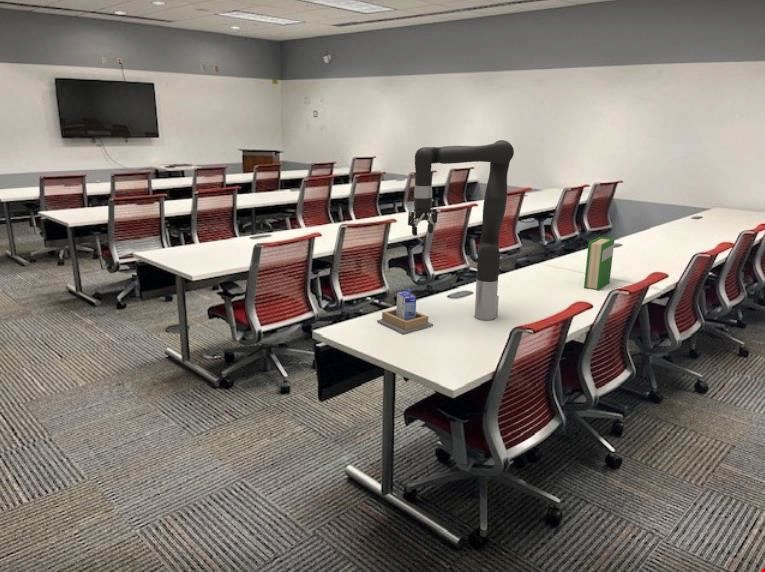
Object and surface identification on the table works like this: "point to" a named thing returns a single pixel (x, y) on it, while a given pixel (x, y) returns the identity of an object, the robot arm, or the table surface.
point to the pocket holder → (404, 322)
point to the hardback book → (599, 263)
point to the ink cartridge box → (406, 305)
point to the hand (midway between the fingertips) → (422, 234)
